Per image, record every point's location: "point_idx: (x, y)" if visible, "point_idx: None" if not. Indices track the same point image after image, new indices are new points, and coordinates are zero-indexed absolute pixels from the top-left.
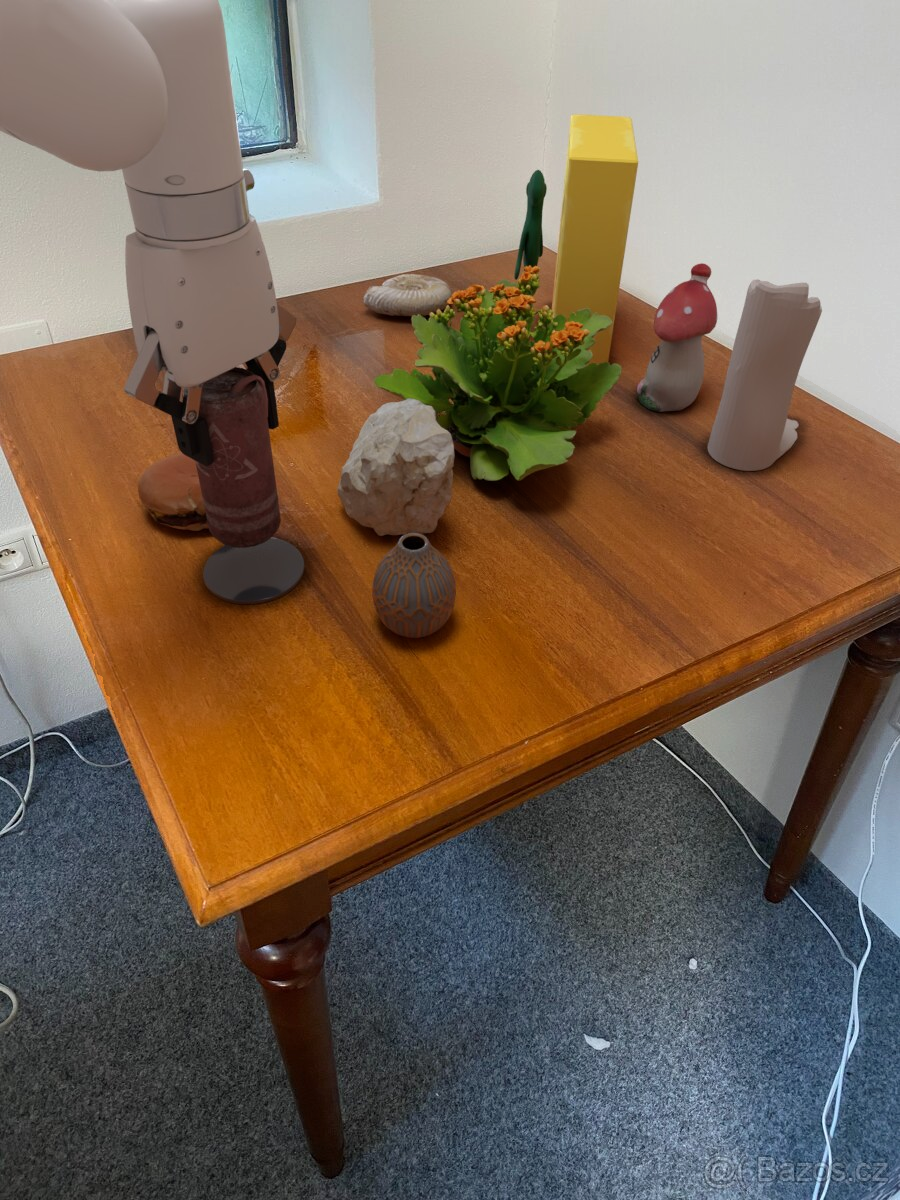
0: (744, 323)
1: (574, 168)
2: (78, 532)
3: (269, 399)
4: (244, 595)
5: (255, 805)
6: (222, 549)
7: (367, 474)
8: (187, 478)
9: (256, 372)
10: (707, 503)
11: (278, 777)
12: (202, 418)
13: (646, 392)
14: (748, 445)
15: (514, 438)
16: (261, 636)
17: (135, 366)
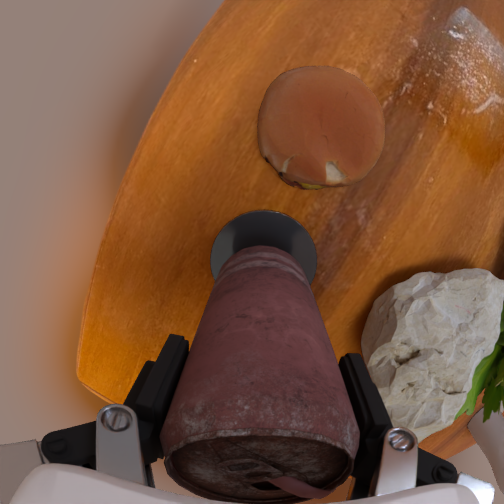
0: None
1: None
2: (208, 57)
3: None
4: None
5: (109, 379)
6: (269, 214)
7: (382, 373)
8: (313, 136)
9: (360, 470)
10: (442, 430)
11: (127, 382)
12: (162, 454)
13: None
14: (474, 434)
15: (478, 370)
16: (198, 320)
17: (2, 501)
